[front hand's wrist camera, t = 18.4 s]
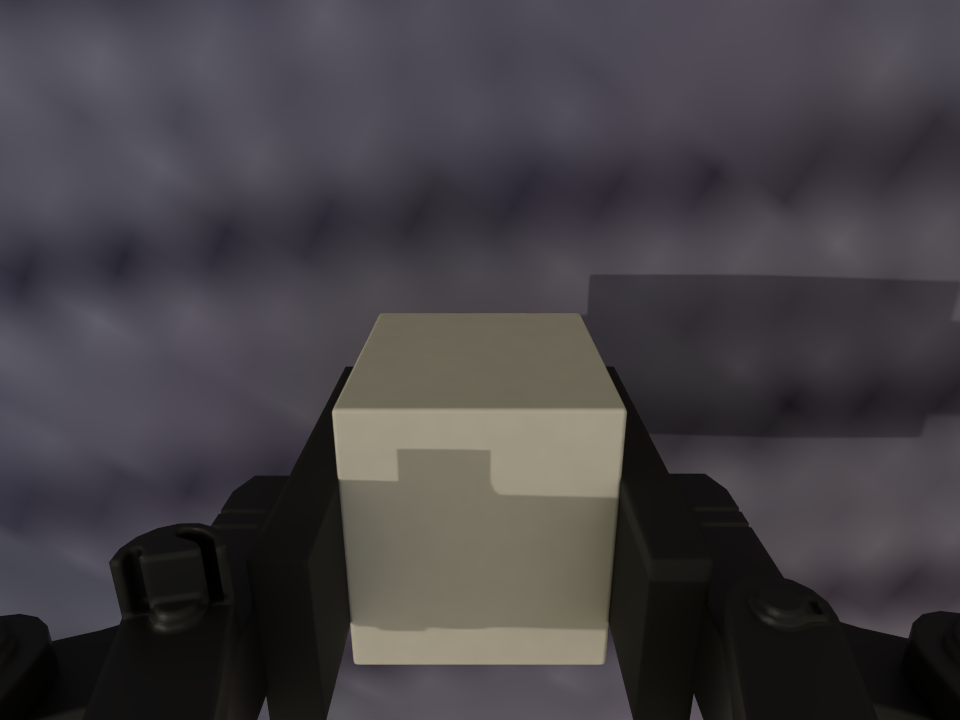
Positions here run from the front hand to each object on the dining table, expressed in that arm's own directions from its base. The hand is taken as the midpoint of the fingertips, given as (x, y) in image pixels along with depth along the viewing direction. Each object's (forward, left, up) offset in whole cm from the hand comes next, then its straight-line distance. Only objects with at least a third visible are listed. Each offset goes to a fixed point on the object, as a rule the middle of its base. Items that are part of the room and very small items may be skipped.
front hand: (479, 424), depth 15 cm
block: (0, 0, 0) cm, 0 cm away
